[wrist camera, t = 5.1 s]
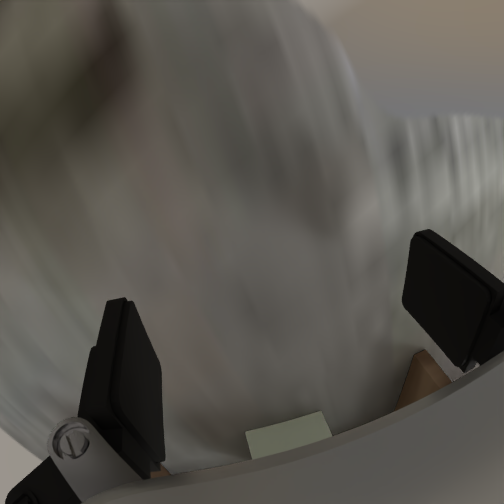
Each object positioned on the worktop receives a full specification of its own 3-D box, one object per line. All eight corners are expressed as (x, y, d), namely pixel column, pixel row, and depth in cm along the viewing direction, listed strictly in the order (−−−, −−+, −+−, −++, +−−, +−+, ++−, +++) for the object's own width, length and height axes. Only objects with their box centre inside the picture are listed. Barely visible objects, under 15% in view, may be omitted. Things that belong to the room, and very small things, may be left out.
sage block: (320, 410, 18) (368, 514, 12) (318, 442, 21) (355, 528, 14) (244, 431, 18) (277, 544, 11) (254, 460, 20) (281, 551, 13)
